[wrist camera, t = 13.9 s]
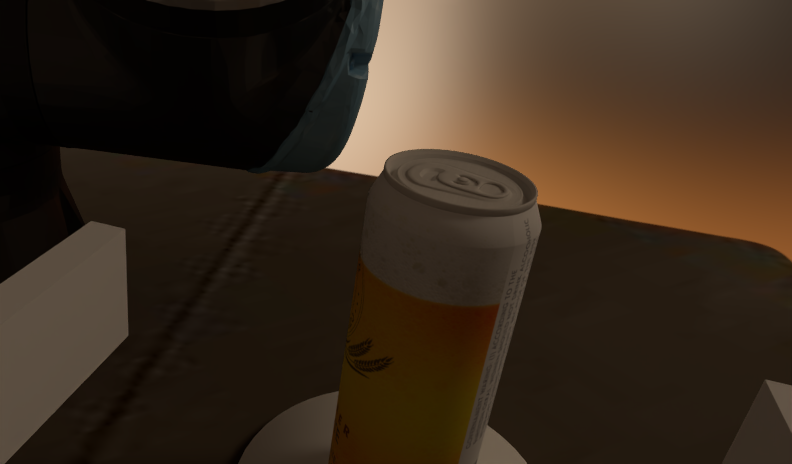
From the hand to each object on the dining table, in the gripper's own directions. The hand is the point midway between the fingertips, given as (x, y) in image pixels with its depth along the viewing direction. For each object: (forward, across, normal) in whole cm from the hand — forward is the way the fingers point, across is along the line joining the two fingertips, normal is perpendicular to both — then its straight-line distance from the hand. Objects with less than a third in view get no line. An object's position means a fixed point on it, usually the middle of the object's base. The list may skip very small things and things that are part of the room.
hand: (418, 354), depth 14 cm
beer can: (+10, 0, -15) cm, 18 cm away
